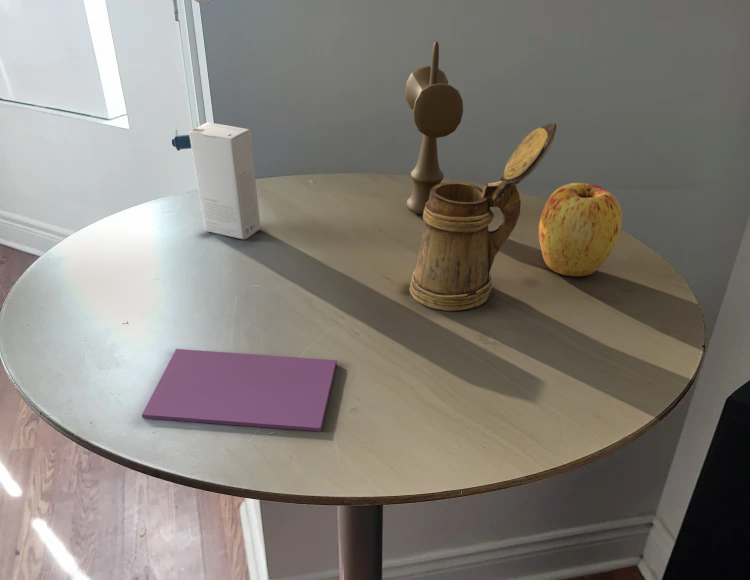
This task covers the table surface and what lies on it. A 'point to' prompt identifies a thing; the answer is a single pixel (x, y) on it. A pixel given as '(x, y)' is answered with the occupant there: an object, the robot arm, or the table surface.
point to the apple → (579, 228)
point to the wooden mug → (471, 231)
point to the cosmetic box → (226, 179)
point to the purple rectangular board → (243, 390)
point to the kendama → (430, 125)
